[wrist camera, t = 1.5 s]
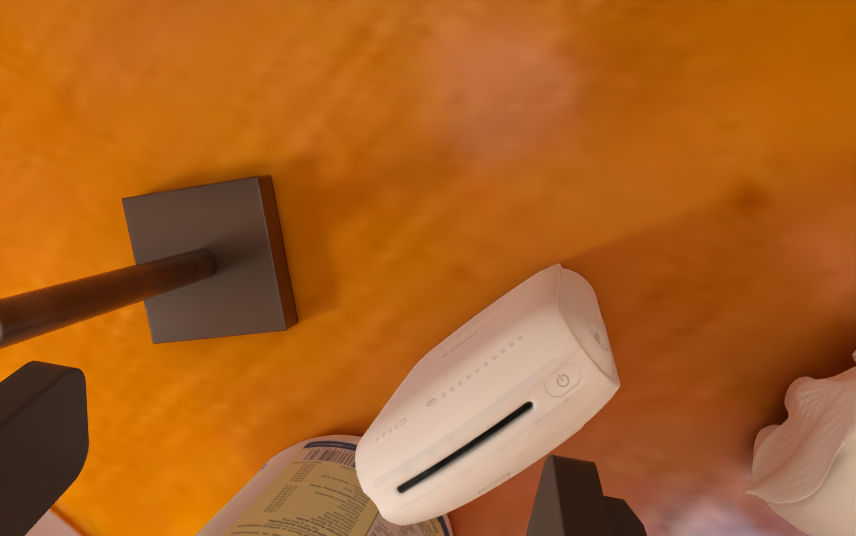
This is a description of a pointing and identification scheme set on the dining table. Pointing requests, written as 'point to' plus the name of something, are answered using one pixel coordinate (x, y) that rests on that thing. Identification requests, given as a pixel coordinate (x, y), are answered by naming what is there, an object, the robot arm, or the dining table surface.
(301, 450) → the supplement tub
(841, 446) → the elephant figurine
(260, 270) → the stand
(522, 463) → the photo printer
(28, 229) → the dining table surface
